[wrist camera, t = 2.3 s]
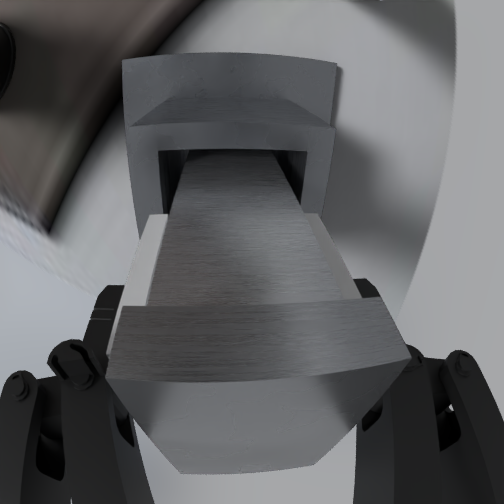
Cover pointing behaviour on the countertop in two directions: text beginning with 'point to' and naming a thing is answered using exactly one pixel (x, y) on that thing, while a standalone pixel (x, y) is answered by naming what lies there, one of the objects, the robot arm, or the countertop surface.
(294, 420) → the column
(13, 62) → the french press
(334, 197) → the countertop surface
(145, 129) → the base
